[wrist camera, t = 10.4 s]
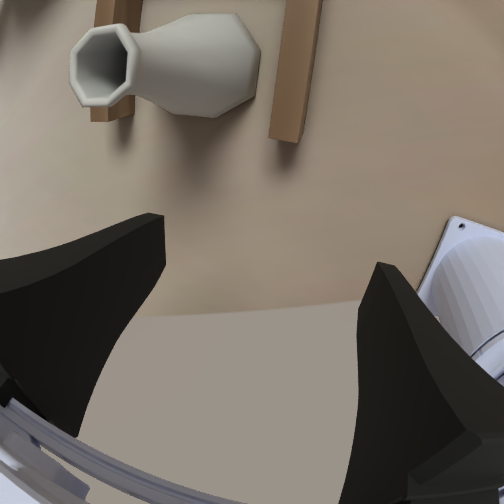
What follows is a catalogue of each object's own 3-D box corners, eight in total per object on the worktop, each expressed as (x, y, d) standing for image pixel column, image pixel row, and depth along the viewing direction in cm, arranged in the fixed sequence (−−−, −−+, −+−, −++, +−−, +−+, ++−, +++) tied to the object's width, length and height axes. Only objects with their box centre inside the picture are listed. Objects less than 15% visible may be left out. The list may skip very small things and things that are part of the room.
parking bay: (329, -59, 11) (327, -79, 8) (302, 133, 18) (297, 143, 15) (133, -50, 12) (108, -59, 10) (117, 113, 19) (90, 121, 17)
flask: (249, -2, 14) (170, -61, 6) (273, 107, 17) (215, 138, 9) (144, 32, 16) (26, 29, 8) (167, 129, 19) (60, 179, 11)
